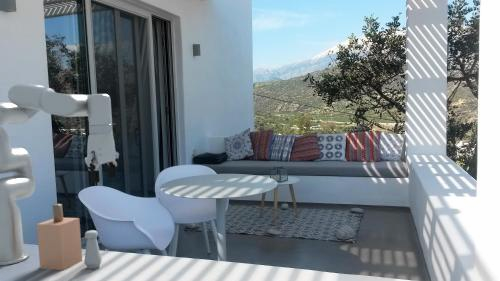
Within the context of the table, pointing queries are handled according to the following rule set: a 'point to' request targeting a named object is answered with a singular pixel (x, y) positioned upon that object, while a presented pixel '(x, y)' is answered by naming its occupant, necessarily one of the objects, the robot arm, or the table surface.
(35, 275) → the table surface
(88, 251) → the salt shaker
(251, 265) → the table surface
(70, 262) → the cover
